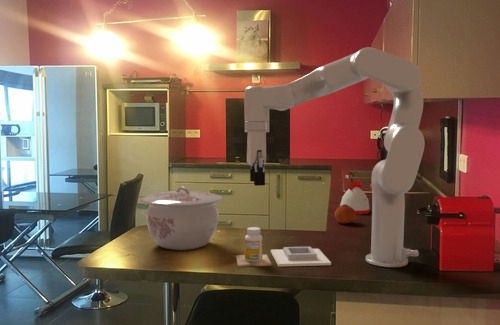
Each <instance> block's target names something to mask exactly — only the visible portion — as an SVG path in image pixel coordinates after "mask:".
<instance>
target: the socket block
mask: <svg viewBox="0 0 500 325" xmlns="http://www.w3.org/2000/svg"><path fill="white" fill-rule="evenodd" d="M270 253H271V255H272V257H273V259H274V260H275V262H276V264H277V267H279V268H280V267H306V266H307V267H309V266H310V267H313V266H315V267H316V266H332V262H331V261H330V260H329V258H328V257H327V255H325V254H324V253H323V252H322V251H321V249H320V248H312V246H284V247H283V248H282V249H270Z"/></svg>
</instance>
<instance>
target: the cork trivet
mask: <svg viewBox="0 0 500 325" xmlns="http://www.w3.org/2000/svg"><path fill="white" fill-rule="evenodd" d="M235 259H236V264H237V267H267V266H269V267H271V266H272V261H271V260H270V258H269V256H268V254H262V260H261V261H257V262H251V261H247V260H245V254H237V255H236V254H235Z"/></svg>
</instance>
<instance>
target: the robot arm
mask: <svg viewBox="0 0 500 325" xmlns="http://www.w3.org/2000/svg"><path fill="white" fill-rule="evenodd" d="M368 79H370V80H373V81H374V82H377V83H379V84H383V85H384V87H385V89H387V91H388V92H389V93H390V94H391V96H392V100H393V105H392V106H393V107H392V110H391V111H392V112H391V117H390V119H389V122H388V126H387V129H386V133H385V135H384V139H383V145H384V148H385V150H386V152H387V155H386V158H385V159H383V160H380V161H379V162H377V163H376V164H375V166H374V167H373V169H372V171H371V181H370V182H371V193H372V194H371V195H372V198H371V199H372V200H371V201H372V205H371V207H372V208H371V239H370V240H371V241H370V242H371V244H370V253H369V254H367V255H365V261H366V262H367V263H368V264H371V265H374V266H378V267H382V268H401V267H406V266H407V265H408V264H409V259H408V258H409V257H419V255H420V254H419V250H418V249H411V248H406V247H404V236H405V234H404V230H405V229H404V228H405V207H406V206H405V205H406V204H405V199H406V198H405V194H406V193H408V192H409V191H410V190H411V189H412V187H413V186H414V183H415V181H416V178H417V175H418V172H419V168H420V165H421V162H422V158H423V154H424V151H425V137H424V134H423V132H422V131H421V130H420V129H419V127H420V124H421V120H422V114H423V111H424V110H423V109H424V96H423V93H422V91H421V88H420V86H419V85H420V83H421V80H422V72H421V69H420V68H419V66H418V65H417V64H416V63H414V62H413V61H410V60H409V59H408V60H407V59H405V58H402V57H399V56H396V55H394V54H392V53H389V52H386V51H383V50H381V49H378V48H376V47H375V48H374V47H371V46H370V47H369V46H367V47H362V48H361V49H359V50H358V51H357V52H353V53H352V54H349V55H347V56H344V57H342V58H340V59H338V60H334V61H332V62H330V63H327V64H324V65H322V66H320V67H318V68H316V69H314V70H313V71H311V72H310V73H308V74H306V75H304V76H303V77H300V78H298V79H296V80H293V81H291V82H289V83H286V84H277V85H272V86H262V85H253V86H251V85H250V86H247V87H245V88H244V95H243V96H244V98H243V99H244V101H243V102H244V104H243V105H244V110H243V111H244V133H247V136H246V138H247V140H246V142H247V143H246V144H247V145H246V163H247V164H248V165H249V166H250V168H249V180H250V182H253V184H254V186H257V187H258V186H266V172H265V165H266V164H267V163H266V162H267V133H270V110H277V111H280V112H281V111H286V110H289V109H291V108H293V107H296V106H298V105H301V104H304V103H306V102H308V101H311V100H314V99H317V98H320V97H324V96H325V97H326V96H328V95H331V94H332V93H336V92H337V91H340V90H342V89H346V88H348V87H350V86H352V85H355V84H357V83H358V84H359V83H360V82H363V81H365V80H368Z"/></svg>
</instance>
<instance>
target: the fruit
mask: <svg viewBox="0 0 500 325" xmlns="http://www.w3.org/2000/svg"><path fill="white" fill-rule="evenodd" d="M334 217H335V220H336V222H338V223H340V224H342V225H343V224H345V225H346V224H347V225H348V224H350V223H353V222H354V221H355V220H356V218H357V214H356V212H355V210H354V209H353V208H352V207H350V206H348V205H346V204H343V205H341V206H340V205H339V206H338V207H337V208H336V209H335V211H334Z"/></svg>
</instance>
